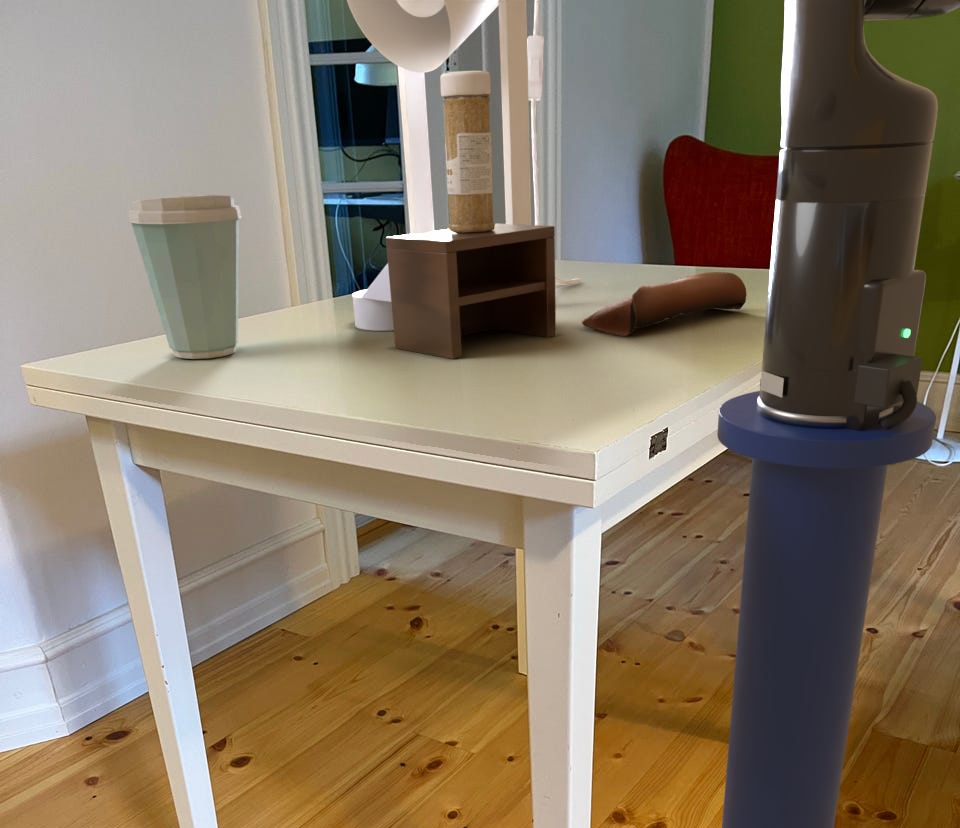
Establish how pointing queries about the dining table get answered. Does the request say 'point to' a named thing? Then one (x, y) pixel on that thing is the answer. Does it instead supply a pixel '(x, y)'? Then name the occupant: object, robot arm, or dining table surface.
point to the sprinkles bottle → (468, 150)
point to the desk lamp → (423, 48)
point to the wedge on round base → (374, 305)
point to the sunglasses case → (669, 302)
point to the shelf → (470, 285)
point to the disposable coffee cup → (192, 269)
